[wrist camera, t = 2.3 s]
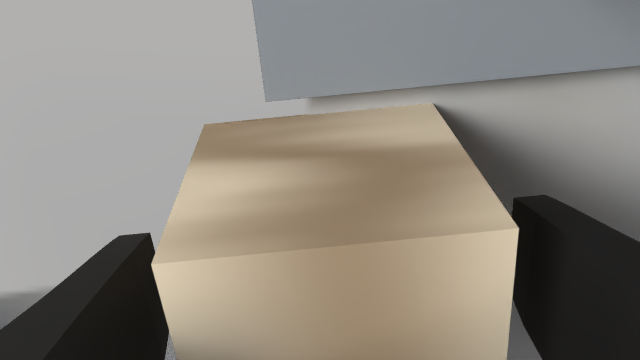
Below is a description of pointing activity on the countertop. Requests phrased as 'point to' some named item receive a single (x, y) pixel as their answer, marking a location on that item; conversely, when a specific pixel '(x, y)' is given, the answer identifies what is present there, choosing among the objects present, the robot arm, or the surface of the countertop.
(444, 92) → the countertop surface
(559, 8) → the baseplate
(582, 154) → the countertop surface
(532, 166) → the countertop surface
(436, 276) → the birch block
